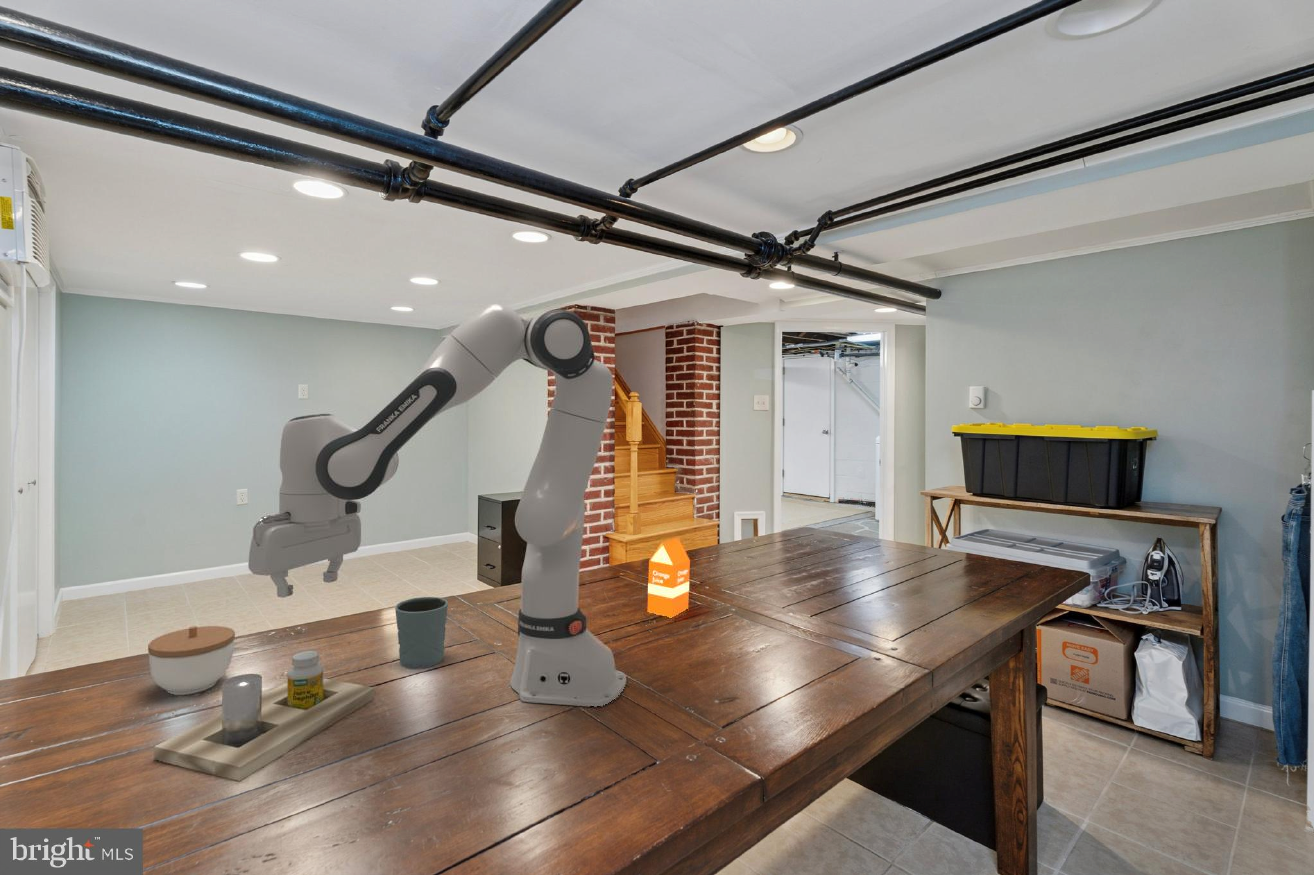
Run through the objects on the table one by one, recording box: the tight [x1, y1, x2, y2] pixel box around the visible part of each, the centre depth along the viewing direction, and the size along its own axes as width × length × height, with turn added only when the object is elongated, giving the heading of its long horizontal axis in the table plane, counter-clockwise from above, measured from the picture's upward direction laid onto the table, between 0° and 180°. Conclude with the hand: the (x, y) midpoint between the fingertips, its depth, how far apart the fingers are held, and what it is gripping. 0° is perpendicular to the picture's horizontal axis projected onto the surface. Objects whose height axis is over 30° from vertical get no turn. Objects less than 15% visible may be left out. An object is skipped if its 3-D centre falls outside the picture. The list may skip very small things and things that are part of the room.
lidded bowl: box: [147, 625, 236, 696], centre depth 111 cm, size 13×13×11 cm
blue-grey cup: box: [394, 596, 449, 670], centre depth 126 cm, size 10×10×12 cm
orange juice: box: [647, 537, 691, 618], centre depth 161 cm, size 8×9×20 cm
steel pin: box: [221, 673, 263, 748], centre depth 92 cm, size 5×5×10 cm
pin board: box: [153, 677, 375, 782], centre depth 98 cm, size 16×26×2 cm, turn 165°
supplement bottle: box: [286, 650, 324, 710], centre depth 104 cm, size 5×5×10 cm
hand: (308, 588), depth 103 cm, fingers open, 8 cm apart
